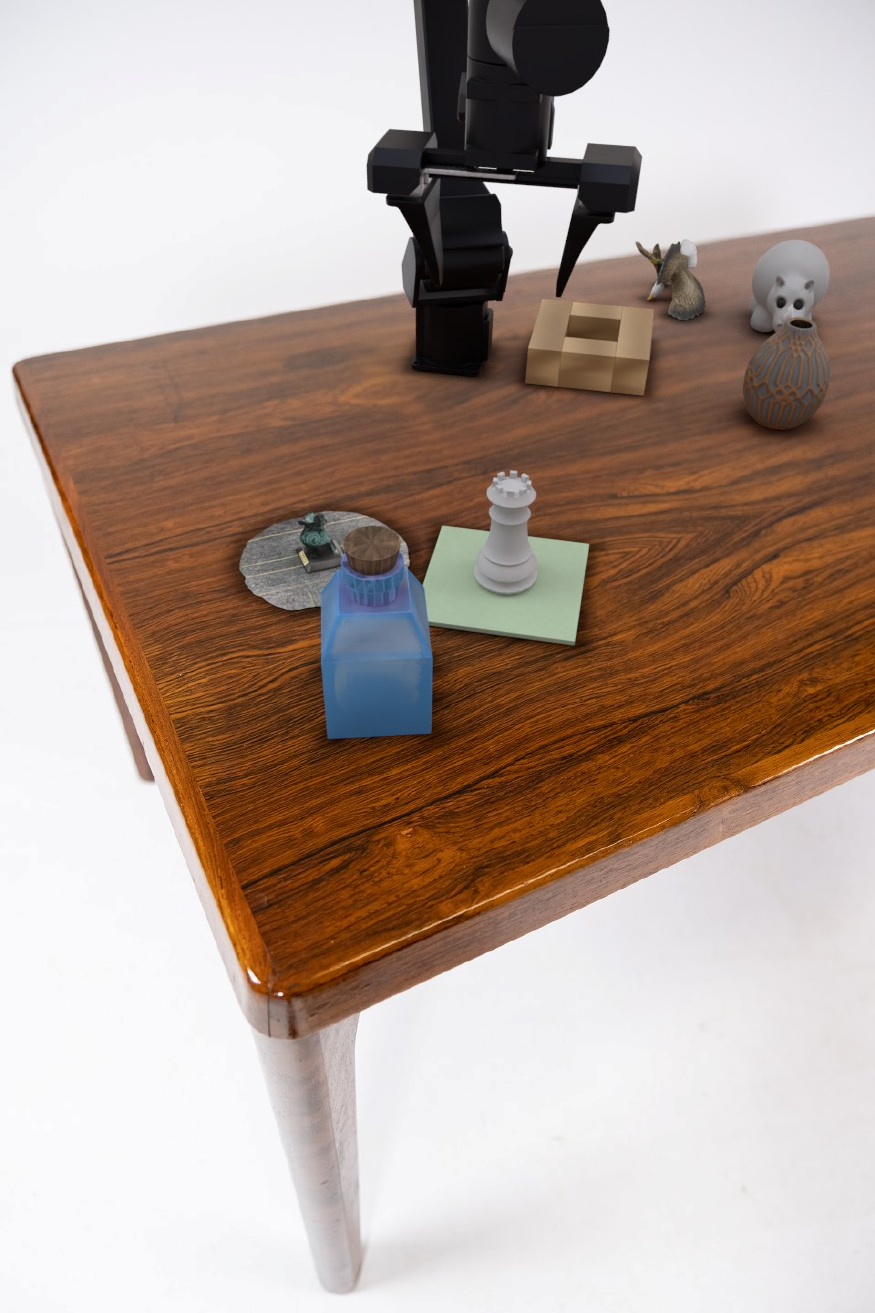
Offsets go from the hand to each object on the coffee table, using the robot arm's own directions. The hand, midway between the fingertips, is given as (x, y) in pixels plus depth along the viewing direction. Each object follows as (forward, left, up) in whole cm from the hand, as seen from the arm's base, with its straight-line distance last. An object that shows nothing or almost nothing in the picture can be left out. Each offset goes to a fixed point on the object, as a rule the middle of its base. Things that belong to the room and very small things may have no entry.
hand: (498, 289), depth 77 cm
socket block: (+7, +16, -13) cm, 22 cm away
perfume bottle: (-2, -32, -13) cm, 35 cm away
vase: (+24, +9, -13) cm, 29 cm away
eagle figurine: (+14, +32, -13) cm, 37 cm away
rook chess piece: (+4, -19, -13) cm, 23 cm away
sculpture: (-9, -19, -13) cm, 25 cm away
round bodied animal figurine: (+25, +26, -13) cm, 38 cm away
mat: (+4, -19, -13) cm, 23 cm away
